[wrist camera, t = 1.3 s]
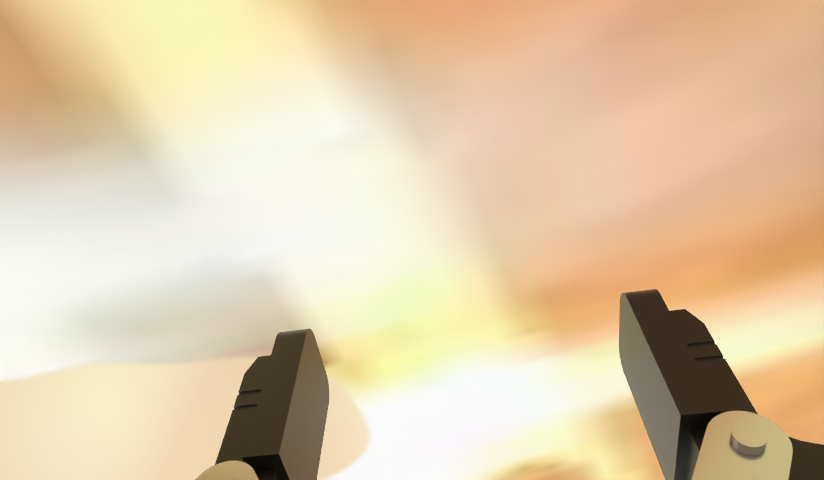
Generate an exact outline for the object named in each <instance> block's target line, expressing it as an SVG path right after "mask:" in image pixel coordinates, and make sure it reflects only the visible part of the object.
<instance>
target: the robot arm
mask: <svg viewBox="0 0 824 480" xmlns="http://www.w3.org/2000/svg"><path fill="white" fill-rule="evenodd" d="M619 351H620V358H621V363H622V367H623V371H624V374H625V376H626V379H627V381H628V384H629V387H630V389H631V392H632V394H633V397H634V399H635V402H636V405H637V407H638V410H639V412H640V415H641V418H642V420H643V423H644V425H645V428H646V430H647V433H648V436H649V438H650V441H651V443H652V446H653V448H654V451H655V454H656V456H657V459H658V461H659V464H660V467H661V469H662V472H663V474H664V477H665V479H666V480H824V445H821V444H815V443H809V442H804V441H800V440H797V439H793V438H791V437H789V436H788V435H787V434H786V433H785V431H784V430H783V429H782V428H781V427H780V426H778V425H777V424H776V423H774V422H773V421H771V420H770V419H768V418H766V417H763V416H761V415H758V413H757V412H756V411H755V409H754V407H753V406H752V404H751V402H750V401H749V399H748V397H747V395H746V394H745V392H744V390H743V389H742V387H741V385H740V384H739V382H738V380H737V379H736V377H735V375H734V373H733V372H732V370H731V368H730V367H729V365H728V363H727V362H726V360H725V359H723V355H722V353H721V352H720V350H719V348H718V346H717V345H715V343H714V340H713V338H712V336H711V335H710V333H709V331H708V330H707V328H706V326H705V325H704V323H703V322H701V321H700V320H699V319H697V318H696V317H695V316H693V315H692V314H691V313H689V312H688V311H687V310H685V309H682V310H674V311H669V310H668V308H667V306H666V304H665V302H664V300H663V299H662V297H661V295H660V293H659V292H658V290H656V289H653V290H645V291H636V292H628V293H622V294H621V297H620V324H619ZM328 404H329V385H328V379H327V375H326V371H325V368H324V365H323V362H322V359H321V355H320V352H319V349H318V346H317V343H316V339H315V336H314V334H313V332H312V330H311V329H304V330H296V331H287V332H280V333H278V335H277V337H276V340H275V344H274V347H273V351H272V354H271V355H270V356H261V357H258V358H257V359H256V360H255V362H254V363H253V364H252V365H251V367H250V368H249V369H248V370H247V371H246V373H245V374H244V377H243V380H242V383H241V386H240V390H239V395H238V396H237V399H236V402H235V405H234V410H233V411H232V414H231V417H230V420H229V423H228V426H227V430H226V433H225V436H224V439H223V442H222V445H221V448H220V451H219V454H218V457H217V460H216V464H215V465H214V466H212V467H210V468H209V469H207V470H206V471H204V472H203V473H202V474H201V475H200V476H199V477H198V478H197V479H196V480H317V473H318V467H319V461H320V455H321V448H322V442H323V436H324V429H325V423H326V417H327V410H328Z"/></svg>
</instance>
